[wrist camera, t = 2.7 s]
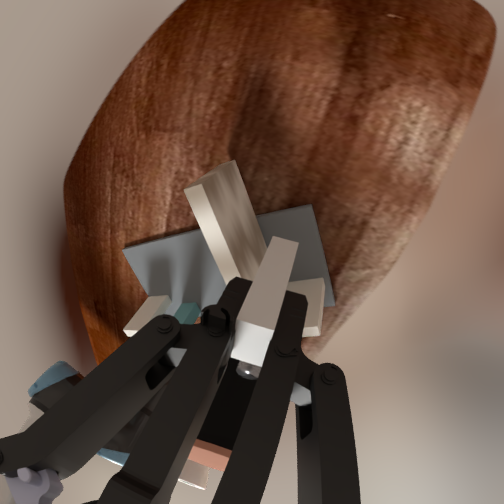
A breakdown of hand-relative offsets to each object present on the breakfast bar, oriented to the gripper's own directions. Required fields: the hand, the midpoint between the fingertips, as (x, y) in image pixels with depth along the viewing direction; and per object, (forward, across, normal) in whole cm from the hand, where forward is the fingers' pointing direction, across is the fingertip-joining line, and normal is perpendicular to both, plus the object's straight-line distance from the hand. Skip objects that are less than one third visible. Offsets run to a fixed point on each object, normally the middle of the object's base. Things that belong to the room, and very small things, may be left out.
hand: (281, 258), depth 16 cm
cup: (+10, -8, -76) cm, 77 cm away
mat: (+10, -7, -12) cm, 17 cm away
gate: (+10, -4, -4) cm, 11 cm away
